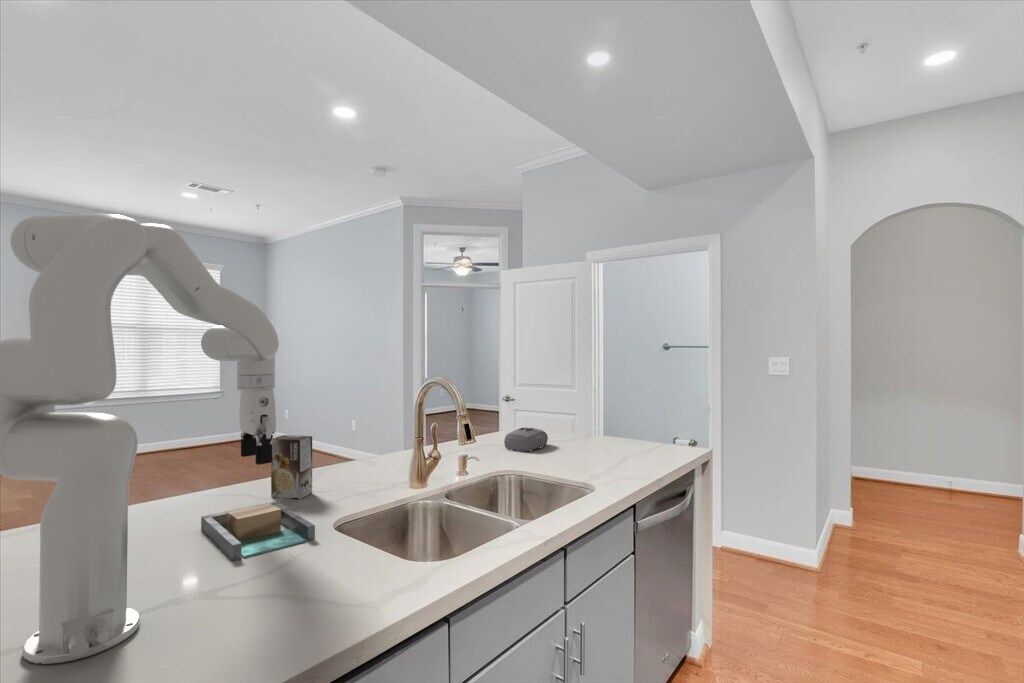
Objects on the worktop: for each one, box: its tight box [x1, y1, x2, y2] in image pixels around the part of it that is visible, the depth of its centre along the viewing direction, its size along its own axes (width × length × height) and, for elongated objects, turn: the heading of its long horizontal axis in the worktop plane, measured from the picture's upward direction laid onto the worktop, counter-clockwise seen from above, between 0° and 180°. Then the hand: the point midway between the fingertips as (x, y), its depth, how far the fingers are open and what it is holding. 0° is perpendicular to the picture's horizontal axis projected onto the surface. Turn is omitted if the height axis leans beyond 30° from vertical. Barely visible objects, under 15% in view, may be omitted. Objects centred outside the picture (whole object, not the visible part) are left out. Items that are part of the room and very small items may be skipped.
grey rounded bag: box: [503, 427, 549, 452], centre depth 211 cm, size 15×8×20 cm
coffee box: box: [270, 434, 313, 500], centre depth 142 cm, size 9×6×16 cm
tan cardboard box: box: [226, 503, 282, 541], centre depth 113 cm, size 6×9×5 cm, turn 137°
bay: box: [200, 501, 316, 562], centre depth 112 cm, size 23×16×3 cm
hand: (256, 459), depth 114 cm, fingers open, 9 cm apart
